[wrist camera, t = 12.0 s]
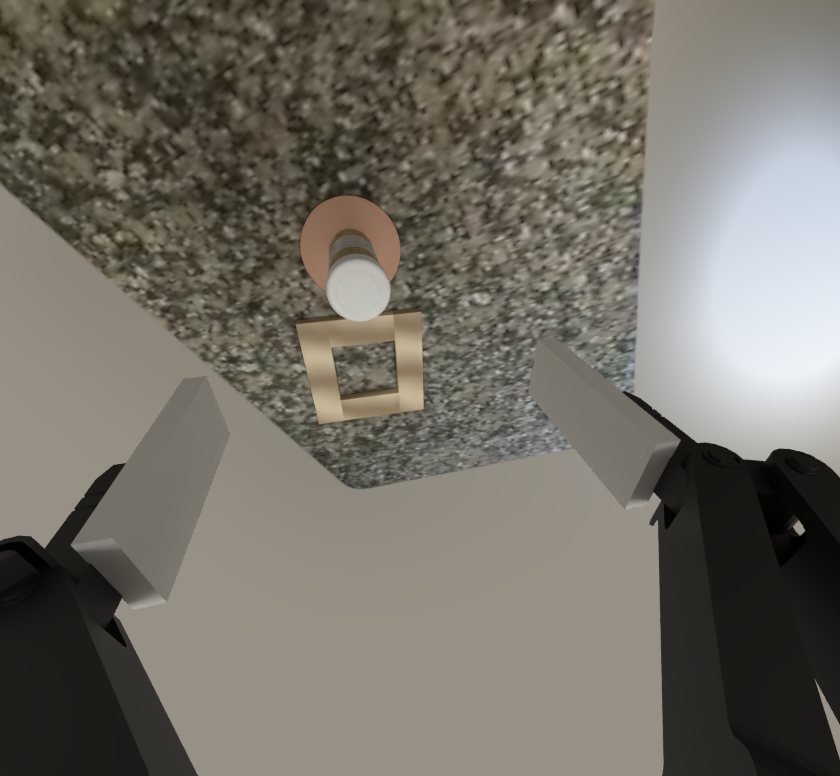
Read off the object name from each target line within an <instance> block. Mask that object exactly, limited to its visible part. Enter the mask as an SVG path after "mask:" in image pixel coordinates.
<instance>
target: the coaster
mask: <svg viewBox="0 0 840 776" xmlns="http://www.w3.org/2000/svg"><path fill="white" fill-rule="evenodd" d="M345 229H356V230H359V231H360V232H362V233H364V234H365V235H366V236H367V237H368V238H369V240H370V241H371V243H372V246H373V249H374V251H375V253H376V255H377V257H378V260H379V263H380V265H381V266H382V267H383V269H384V270H385V272H386V274H387V277H388V280H389V283H390V281H391V280H392V279H393V277H394V275H395V273H396V271H397V268H398V265H399V261H400V241H399V237H398V234H397V231H396V228H395V226H394V224H393V223H392V221H391V220H390V218H389V217H388V216H387V214H386V213H385V212H384V211H383V210H382V209H381V208H379V207H378V206H377V205H376V204H374V203H373V202H371V201H369V200H367V199H364V198H361V197H358V196H352V195H342V196H336V197H333V198H330V199H328V200H325V201H324V202H322V203H321V204H319V205H318V206H317V207H316V208H315V209H314V210H313V211H312V212H311V213H310V215H309V216H308V218H307V220H306V222H305V224H304V227H303V230H302V233H301V240H300V249H301V256H302V259H303V263H304V265H305V268H306V270H307V271H308V273H309V275H310V276H311V278H312V279H313V280H314V281H315V282H316V283H317V285H319V286H320V287H321V288H322V289H323V290H325V291H326V279H327V275H328V268H329V246H330V242H331V240H332V238H333V237H334V236H335V235H336V234H337V233H338V232H340V231H341V230H345Z"/></svg>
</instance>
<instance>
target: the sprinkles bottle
mask: <svg viewBox="0 0 840 776" xmlns="http://www.w3.org/2000/svg"><path fill="white" fill-rule="evenodd" d="M326 292H327V297H328V300H329V303H330V304H331V306H332V308H333V309H334V310H335V311H336V312H337V313H338V314H339V315H340V316H342V317H344V318H346V319H348V320H351V321H358V322H362V321H367V320H371V319H373V318H375V317H377V316H378V315H379V314H381V313H382V312H383V310H384V309H385V308H386V306H387V304H388V302H389V299H390V292H391V289H390V283H389V280H388V277H387V274H386V272H385V270H384V269H383V267H382V266H381V265H380V263H379V260H378V257H377V255H376V253H375V251H374V249H373V246H372V243H371V241H370V240H369V238H368V237H367V236H366V235H365V234H364V233H362V232H360V231H359V230H356V229H345V230H341V231H340V232H338V233H337V234H336V235H335V236H334V237H333V238H332V240H331V242H330V246H329V268H328V275H327V279H326Z"/></svg>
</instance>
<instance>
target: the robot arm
mask: <svg viewBox="0 0 840 776" xmlns="http://www.w3.org/2000/svg"><path fill="white" fill-rule="evenodd" d="M529 394H530V396H531V397H532V398H533V399H534V400H535V402H536V403H537V404H538V405H539V406H540V408H541V409H542V410H543V411H544V412H545V414H546V415H547V416H548V417H549V419H550V420H551V421H552V422H553V423H554V425H555V426H556V427H557V428H558V429H559V431H560V432H561V433H562V434H563V435H564V437H565V438H566V439H567V440H568V441H569V443H570V444H571V445H572V446H573V448H574V449H575V450H576V451H577V452H578V454H579V455H580V456H581V457H582V458H583V459H584V461H585V462H586V463H587V464H588V466H589V467H590V468H591V469H592V470H593V472H594V473H595V474H596V475H597V476H598V478H599V479H600V480H601V481H602V483H603V484H604V485H605V486H606V487H607V488H608V490H609V491H610V492H611V493H612V495H613V496H614V497H615V498H616V499H617V501H618V502H619V503H620V504H621V505H622V507H623V508H624V509H625V510H626V509H630V508H635V507H640V506H645V505H647V503H648V501H649V499H650V497H651V495H652V494H653V492H654V493H655V494H656V495H657V496H658V497H659V498H660V499H661V502H660V504H659V506H658V508H657V509H656V511H655V513H654V515H653V516H652V518H651V521H650V525H652V526H653V525H654V524H655V522H656V520H658V536H659V537H658V538H659V577H660V579H659V581H660V624H661V667H662V708H663V709H662V710H663V753H664V766H663V775H662V776H840V759H839V756H838V752H837V749H836V746H835V743H834V740H833V736H832V733H831V730H830V727H829V724H828V720H827V717H826V714H825V711H824V708H823V704H822V701H821V698H820V695H819V692H818V688H817V685H816V682H815V680H816V681H817V683H818V685H819V687H820V689H821V691H822V693H823V694H824V696H825V698H826V700H827V702H828V704H829V705H830V707H831V709H832V711H833V713H834V715H835V716H836V718H837V720H838V722H839V724H840V477H839V476H838V475H837V474H836V473H835V472H834V471H833V470H832V469H831V468H830V467H828V466H827V465H826V464H825V463H823V462H821V461H820V460H818V459H816V458H815V457H813V456H811V455H809V454H806V453H803V452H800V451H795V450H791V449H777V450H774V451H773V452H772V453H771V454H770V456H769V457H768V458H767V460H766V461H756V460H744V459H742V458H741V457H740V456H738V455H737V454H736V453H734V452H732V451H730V450H728V449H727V448H725V447H722V446H719V445H716V444H711V443H697V442H695V441H694V440H693V439H691V438H690V437H689V436H688V435H686V434H685V433H684V432H683V431H681V430H680V429H679V428H677V427H676V426H675V425H673V424H672V423H671V422H670V421H669V420H667V419H666V418H665V417H662V416H661V414H660V413H658V412H657V411H656V410H655V409H654V410H653V409H652V407H651V406H649V405H648V404H647V403H646V402H644V401H643V400H642V399H640V398H638V397H636V396H634V395H632V394H630V393H628V392H626V391H624V392H621V391H620V390H619V389H617V388H616V387H615V386H614V385H613V384H611V383H610V382H609V381H608V380H606V379H605V378H604V377H603V376H601V375H600V374H599V373H598V372H597V371H595V370H594V369H593V368H592V367H590V366H589V365H588V364H587V363H585V362H584V361H583V360H582V359H581V358H579V357H578V356H577V355H576V354H574V353H573V352H572V351H571V350H569V349H568V348H567V347H566V346H565V345H563V344H562V343H561V342H560V341H558V340H557V339H556V338H549V339H540V340H538V346H537V351H536V356H535V361H534V367H533V372H532V377H531V382H530V387H529ZM229 435H230V432H229V430H228V427H227V425H226V422H225V420H224V418H223V415H222V413H221V410H220V408H219V405H218V403H217V400H216V398H215V396H214V393H213V391H212V388H211V386H210V384H209V381H208V379H207V377H206V376H203V377H195V378H185V379H183V380H182V382H181V383H180V385H179V386H178V388H177V389H176V391H175V392H174V394H173V395H172V397H171V398H170V399H169V401H168V402H167V404H166V405H165V407H164V408H163V410H162V411H161V413H160V414H159V416H158V417H157V419H156V420H155V422H154V423H153V424H152V426H151V427H150V429H149V431H148V432H147V433H146V435H145V436H144V438H143V439H142V441H141V442H140V444H139V445H138V447H137V448H136V449H135V451H134V452H133V454H132V455H131V457H130V458H129V460H128V461H127V463H124V464H117V465H113V466H112V467H111V468H109V469H108V470H107V471H106V472H105V473H103V474H102V475H101V476H100V477H98V478H97V479H96V480H95V481H94V483H93V484H92V485H91V487H90V488H89V489H88V491H87V492H86V494H85V495H84V496H85V497H84V498H82V499H81V500H80V502H79V503H78V505H77V506H76V507H75V511H73V512H71V514H70V515H69V516H68V518H67V519H66V521H65V522H64V523H63V525H62V526H61V527H60V529H59V530H58V531H57V533H56V534H55V535H54V537H53V538H52V539H51V541H50V542H49V544H48V545H47V546H46V548H45V549H44V548H43V547H42V546H41V545H40V544H39V543H38V542H37V541H35V540H34V539H33V538H32V537H31V536H16V537H12V538H8V539H3V540H1V541H0V776H198V775H197V773H196V771H195V769H194V767H193V765H192V763H191V761H190V759H189V757H188V755H187V753H186V751H185V749H184V747H183V745H182V744H181V741H180V739H179V737H178V735H177V733H176V732H175V729H174V728H173V725H172V723H171V721H170V719H169V717H168V715H167V713H166V711H165V709H164V707H163V705H162V703H161V701H160V699H159V697H158V696H157V693H156V691H155V690H154V687H153V686H152V683H151V681H150V679H149V678H148V675H147V673H146V671H145V669H144V667H143V666H142V663H141V662H140V659H139V657H138V655H137V654H136V651H135V650H134V648H133V645H132V644H131V642H130V640H129V638H128V636H127V634H126V632H125V630H124V628H123V626H122V624H121V622H120V620H119V619H118V618H117V617H115V615H114V613H115V611H116V609H117V607H118V605H119V603H120V601H121V599H122V598H123V600H124V601H125V602H126V603H127V604H128V605H129V606H130V607H131V608H132V609H138V608H143V607H148V606H153V605H157V604H162V603H167V601H168V598H169V595H170V593H171V590H172V587H173V585H174V582H175V579H176V577H177V574H178V571H179V569H180V566H181V563H182V561H183V558H184V555H185V553H186V550H187V547H188V545H189V542H190V539H191V537H192V534H193V531H194V529H195V526H196V523H197V521H198V518H199V515H200V513H201V510H202V507H203V505H204V502H205V499H206V497H207V494H208V491H209V489H210V486H211V483H212V481H213V478H214V475H215V473H216V470H217V467H218V465H219V462H220V459H221V457H222V454H223V451H224V449H225V446H226V443H227V441H228V438H229ZM798 520H799V521H800V522H801V524H802V525H803V527H804V529H805V532H804V533H803V534H802V535H800V536H799V535H798V533H796V531H795V530H794V528H793V526H794V524H796V522H797V521H798ZM814 678H815V679H814Z"/></svg>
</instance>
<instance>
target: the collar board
mask: <svg viewBox="0 0 840 776" xmlns="http://www.w3.org/2000/svg"><path fill="white" fill-rule="evenodd" d="M296 328H297V332H298V336H299V340H300V345H301V349H302V353H303V357H304V362H305V366H306V370H307V374H308V379H309V383H310V387H311V391H312V396H313V400H314V404H315V408H316V413H317V417H318V421H319V424H323V423H330V422H337V421H344V420H351V419H358V418H365V417H372V416H378V415H385V414H392V413H399V412H406V411H413V410H420V409H424V408H423V363H422V317H421V310H420V309H419V308H417V309H406V310H396V311H386V312H382V313H381V314H379V315H378V316H377V317H375V318H373V319H371V320H367V321H362V322H358V321H351V320H348V319H346V318H344V317H342V316H335V317H324V318H314V319H304V320H297V321H296ZM387 341H394V346H395V360H396V375H397V388H392V389H384V390H376V391H369V392H361V393H354V394H346V395H340V390H339V384H338V379H337V373H336V368H335V362H334V357H333V351H332V348H333V347H342V346H351V345H360V344H369V343H378V342H387Z"/></svg>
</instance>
